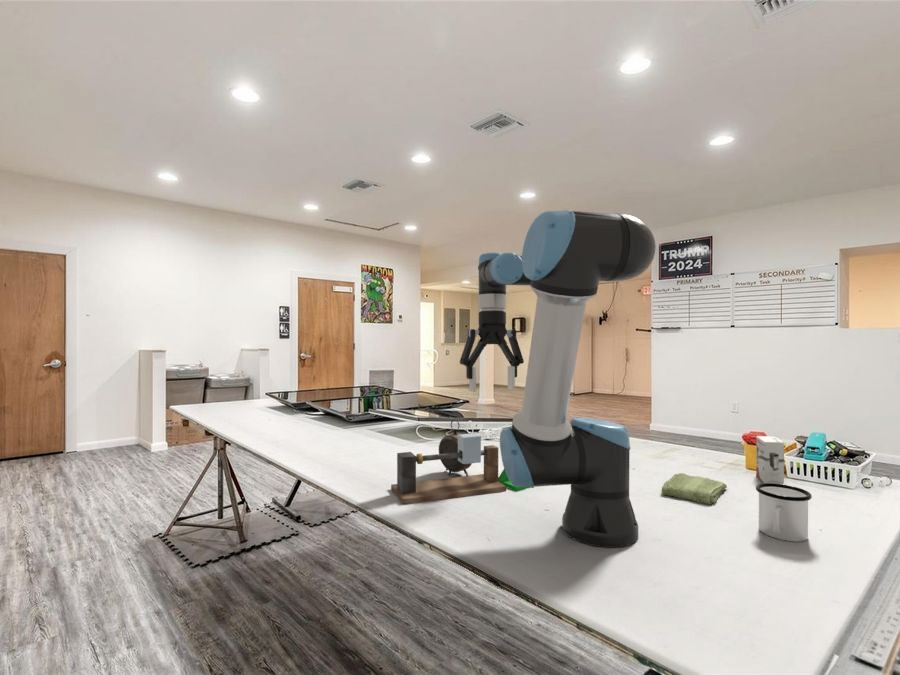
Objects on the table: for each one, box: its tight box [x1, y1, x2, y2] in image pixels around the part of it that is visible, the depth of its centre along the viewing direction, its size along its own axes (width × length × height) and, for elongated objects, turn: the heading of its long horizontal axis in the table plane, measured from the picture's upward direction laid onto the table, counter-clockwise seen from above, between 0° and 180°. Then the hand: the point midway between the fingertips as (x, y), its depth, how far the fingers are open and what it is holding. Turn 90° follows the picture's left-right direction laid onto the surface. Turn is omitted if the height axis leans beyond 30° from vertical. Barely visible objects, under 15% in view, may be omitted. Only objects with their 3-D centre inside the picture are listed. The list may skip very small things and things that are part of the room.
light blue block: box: [458, 432, 482, 464], centre depth 127 cm, size 5×4×7 cm
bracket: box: [498, 468, 532, 492], centre depth 130 cm, size 12×8×7 cm, turn 128°
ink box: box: [755, 435, 785, 485], centre depth 134 cm, size 9×5×12 cm, turn 161°
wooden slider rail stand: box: [390, 444, 507, 505], centre depth 124 cm, size 28×12×10 cm, turn 111°
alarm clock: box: [438, 419, 473, 477], centre depth 138 cm, size 11×5×16 cm, turn 45°
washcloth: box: [660, 472, 728, 505], centre depth 124 cm, size 13×18×3 cm
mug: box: [755, 482, 812, 543], centre depth 96 cm, size 12×10×9 cm
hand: (492, 390), depth 129 cm, fingers open, 11 cm apart
